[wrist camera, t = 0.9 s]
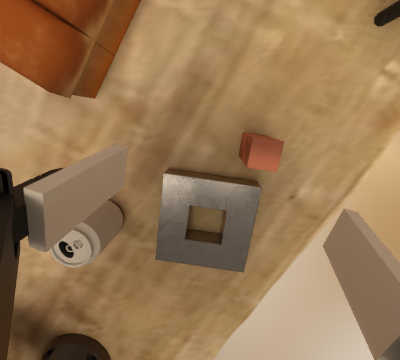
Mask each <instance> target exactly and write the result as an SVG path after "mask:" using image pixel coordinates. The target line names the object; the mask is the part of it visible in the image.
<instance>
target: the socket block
mask: <svg viewBox="0 0 400 360" xmlns="http://www.w3.org/2000/svg"><path fill="white" fill-rule="evenodd" d="M261 189H262V187H261V186H260V185H259V183H258V182H257V181H252V180H245V179H238V178H231V177H224V176H217V175H210V174H203V173H197V172H190V171H183V170H176V169H169V168H168V169H167V170H166V172H165V173H164V177H163V187H162V197H161V207H160V217H159V227H158V237H157V247H156V257H155V259H156V260H163V261H170V262H177V263H183V264H190V265H197V266H203V267H210V268H217V269H223V270H230V271H237V272H244V268H245V264H246V259H247V254H248V250H249V245H250V240H251V236H252V231H253V226H254V222H255V217H256V212H257V208H258V203H259V198H260V194H261ZM190 205H191V206H198V207H205V208H211V209H218V210H225V211H224V217H223V222H222V228H221V234H218V233H211V232H204V231H197V230H191V229H187V227H188V219H189V212H190Z"/></svg>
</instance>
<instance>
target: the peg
mask: <svg viewBox="0 0 400 360" xmlns="http://www.w3.org/2000/svg"><path fill="white" fill-rule="evenodd" d="M283 144H284V142H283V141H280V140H277V139H274V138H271V137H268V136H262V135H255V134H248V133H243V136H242V141H241V147H240V152H239V157H240V158H241V160H242V161H243V162H244V164H245V165H246V167H247V168H253V169H260V170H267V171H274V172H277V170H278V166H279V161H280V157H281V152H282V148H283Z"/></svg>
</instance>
